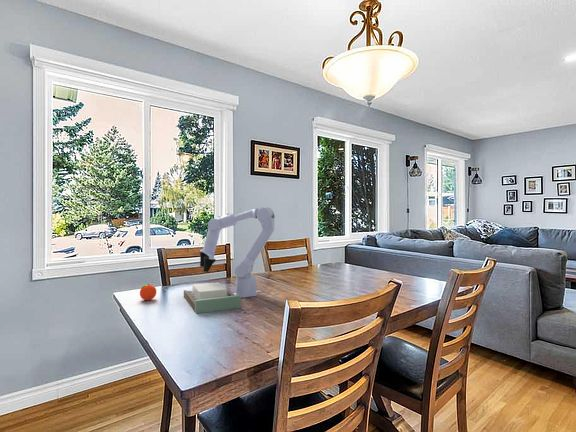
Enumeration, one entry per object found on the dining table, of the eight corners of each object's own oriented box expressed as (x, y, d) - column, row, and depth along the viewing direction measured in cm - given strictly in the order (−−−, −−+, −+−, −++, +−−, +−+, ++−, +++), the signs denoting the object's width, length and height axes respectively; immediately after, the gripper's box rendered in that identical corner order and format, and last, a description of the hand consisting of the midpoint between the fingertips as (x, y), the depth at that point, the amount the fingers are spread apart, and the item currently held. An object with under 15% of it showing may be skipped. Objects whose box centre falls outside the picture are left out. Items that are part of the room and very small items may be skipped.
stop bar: (238, 306, 140) (238, 294, 140) (240, 307, 138) (240, 295, 138) (194, 312, 132) (195, 299, 131) (195, 313, 130) (196, 301, 130)
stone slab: (218, 288, 157) (218, 282, 157) (226, 295, 144) (227, 289, 144) (192, 291, 151) (192, 284, 151) (199, 298, 139) (199, 291, 139)
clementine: (136, 303, 142) (136, 286, 142) (137, 298, 149) (137, 283, 149) (156, 301, 145) (156, 285, 145) (156, 297, 152) (156, 282, 152)
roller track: (222, 292, 162) (222, 286, 162) (238, 306, 140) (238, 299, 140) (183, 296, 153) (183, 290, 153) (194, 311, 132) (194, 304, 132)
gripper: (199, 237, 164) (193, 263, 165) (206, 245, 152) (199, 273, 153) (213, 239, 168) (206, 265, 169) (221, 247, 155) (213, 274, 156)
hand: (203, 269), depth 161 cm, fingers open, 7 cm apart
